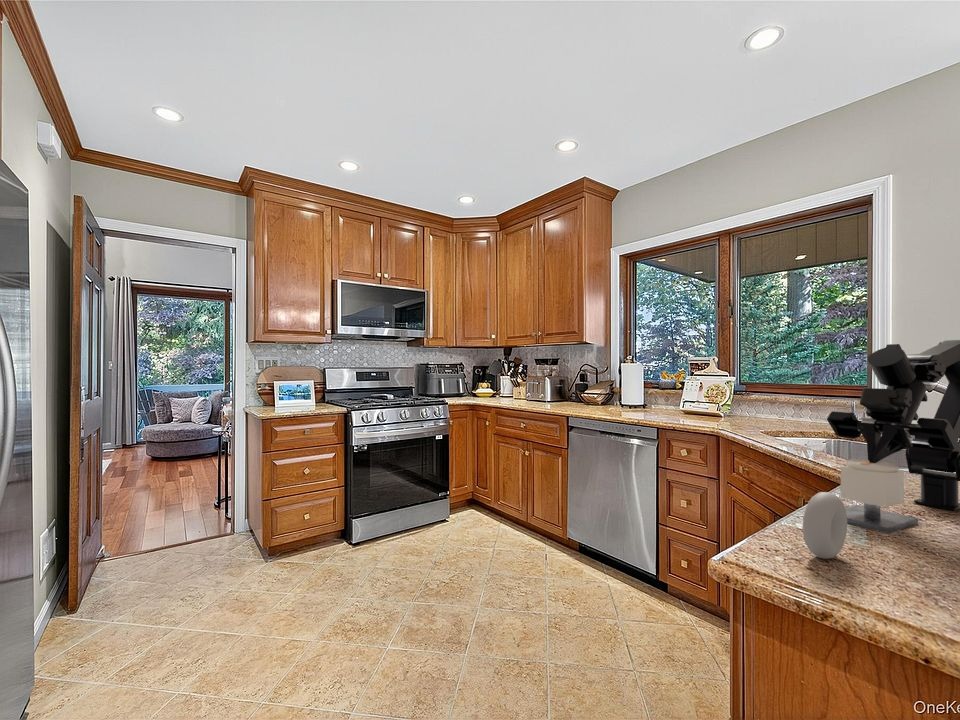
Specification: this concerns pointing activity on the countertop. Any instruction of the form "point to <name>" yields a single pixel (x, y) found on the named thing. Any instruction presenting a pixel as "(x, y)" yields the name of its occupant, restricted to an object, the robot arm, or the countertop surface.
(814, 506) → the donut
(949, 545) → the countertop surface
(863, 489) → the knob
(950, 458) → the robot arm
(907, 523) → the plate
